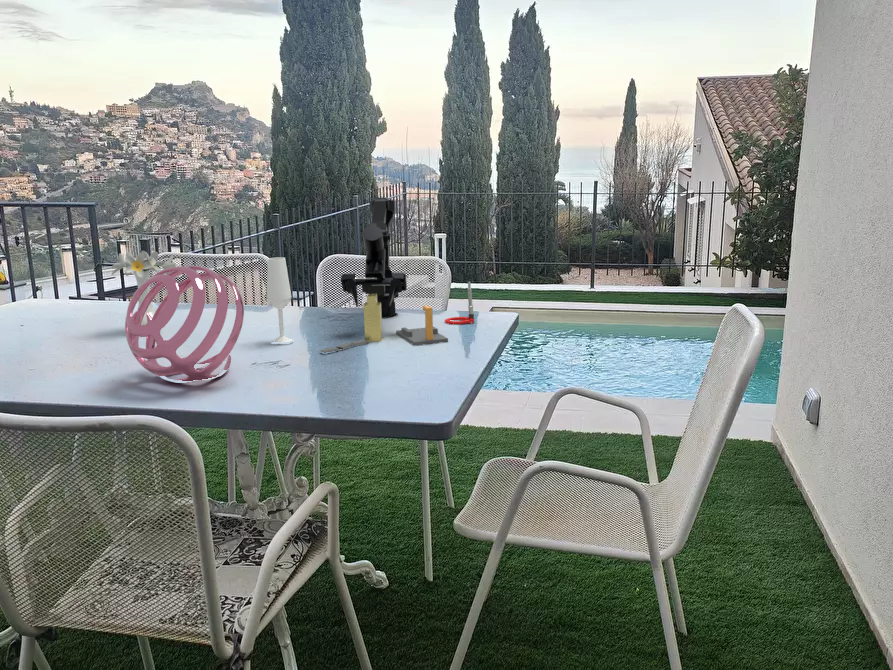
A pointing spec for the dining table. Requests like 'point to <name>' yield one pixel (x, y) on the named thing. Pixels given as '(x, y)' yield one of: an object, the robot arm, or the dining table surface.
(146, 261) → the flower vase
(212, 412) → the dining table surface
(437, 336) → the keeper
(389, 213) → the robot arm
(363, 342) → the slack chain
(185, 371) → the pink lattice ball
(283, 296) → the champagne flute
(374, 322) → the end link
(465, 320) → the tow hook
